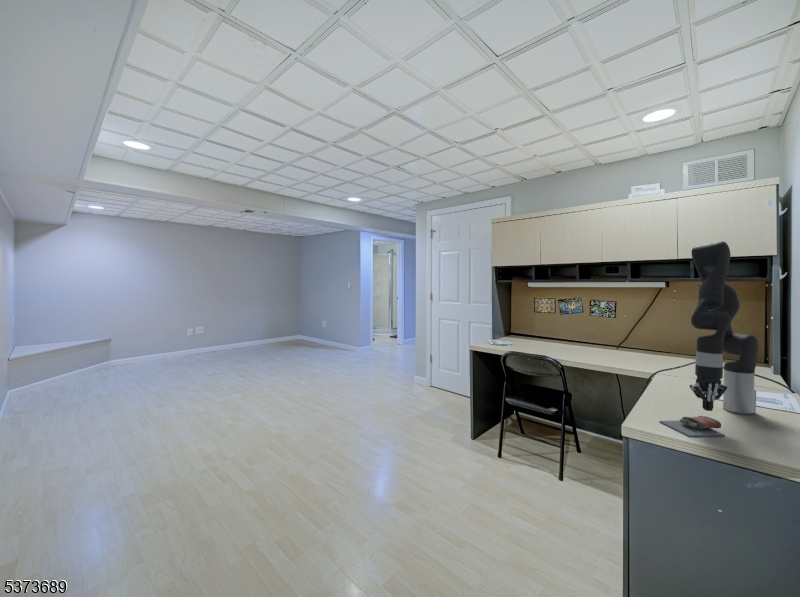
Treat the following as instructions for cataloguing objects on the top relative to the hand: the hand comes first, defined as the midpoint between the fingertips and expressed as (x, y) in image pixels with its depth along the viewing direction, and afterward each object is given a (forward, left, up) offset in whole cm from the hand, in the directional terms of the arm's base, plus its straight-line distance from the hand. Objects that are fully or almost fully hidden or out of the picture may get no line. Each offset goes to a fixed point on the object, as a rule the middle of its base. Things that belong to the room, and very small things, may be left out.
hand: (707, 410), depth 124 cm
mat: (+6, 0, -7) cm, 10 cm away
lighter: (-2, -1, -5) cm, 5 cm away
